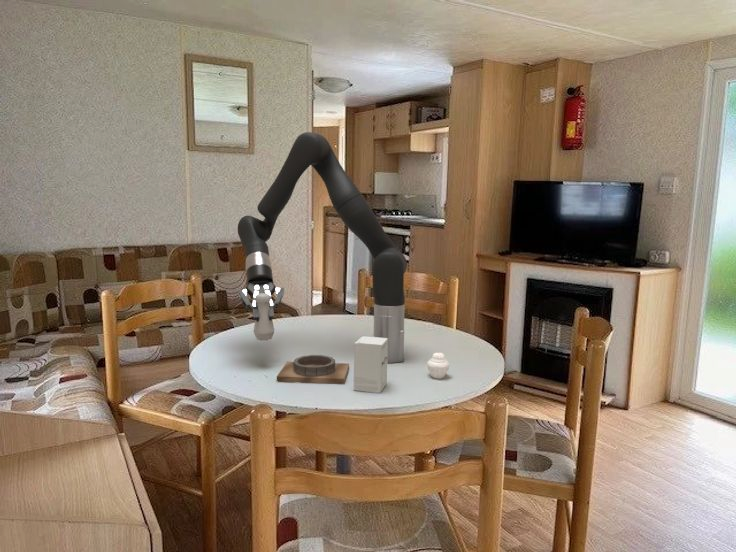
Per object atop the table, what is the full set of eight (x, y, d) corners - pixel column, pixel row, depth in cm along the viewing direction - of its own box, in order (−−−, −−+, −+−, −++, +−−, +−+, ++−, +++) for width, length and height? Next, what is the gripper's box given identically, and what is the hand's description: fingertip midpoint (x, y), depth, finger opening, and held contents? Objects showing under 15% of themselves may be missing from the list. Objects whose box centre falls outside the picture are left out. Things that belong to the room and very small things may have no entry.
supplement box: (380, 393, 134) (381, 344, 132) (352, 390, 136) (353, 342, 134) (387, 384, 141) (388, 337, 139) (360, 381, 143) (361, 335, 141)
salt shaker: (261, 335, 156) (260, 291, 154) (278, 337, 153) (277, 292, 152) (250, 340, 150) (248, 294, 148) (267, 342, 148) (266, 296, 146)
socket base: (349, 368, 153) (349, 355, 152) (344, 384, 140) (344, 369, 139) (287, 366, 154) (287, 353, 153) (276, 381, 141) (276, 367, 141)
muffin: (436, 371, 151) (437, 347, 150) (453, 377, 147) (454, 352, 146) (421, 376, 147) (422, 351, 146) (438, 382, 143) (439, 356, 142)
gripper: (234, 264, 154) (238, 314, 144) (283, 262, 158) (290, 311, 148) (234, 279, 160) (238, 328, 150) (281, 277, 164) (288, 325, 154)
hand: (264, 319), depth 149 cm, fingers closed on salt shaker, 3 cm apart
